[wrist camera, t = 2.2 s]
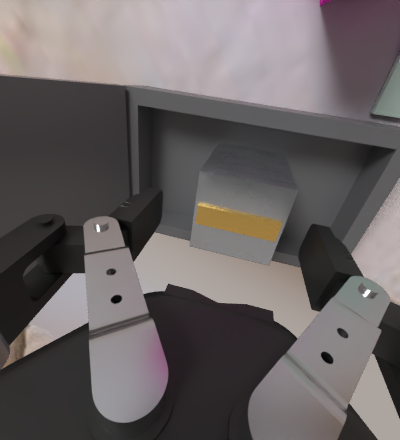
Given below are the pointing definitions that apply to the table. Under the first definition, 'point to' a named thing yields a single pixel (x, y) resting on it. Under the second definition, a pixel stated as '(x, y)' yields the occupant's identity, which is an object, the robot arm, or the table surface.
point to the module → (242, 203)
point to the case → (179, 156)
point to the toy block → (324, 1)
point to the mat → (389, 94)
